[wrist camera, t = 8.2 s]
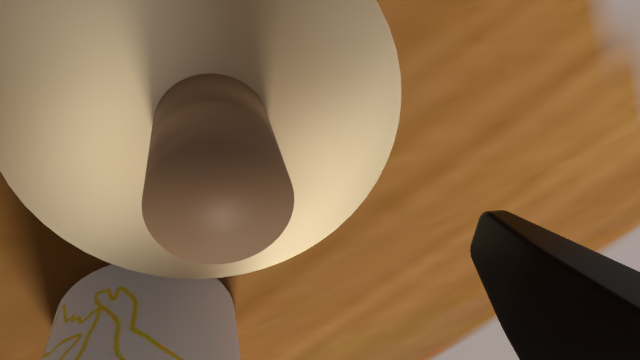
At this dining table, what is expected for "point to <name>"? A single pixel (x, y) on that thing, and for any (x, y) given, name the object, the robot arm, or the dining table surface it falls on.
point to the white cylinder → (143, 319)
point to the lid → (195, 125)
